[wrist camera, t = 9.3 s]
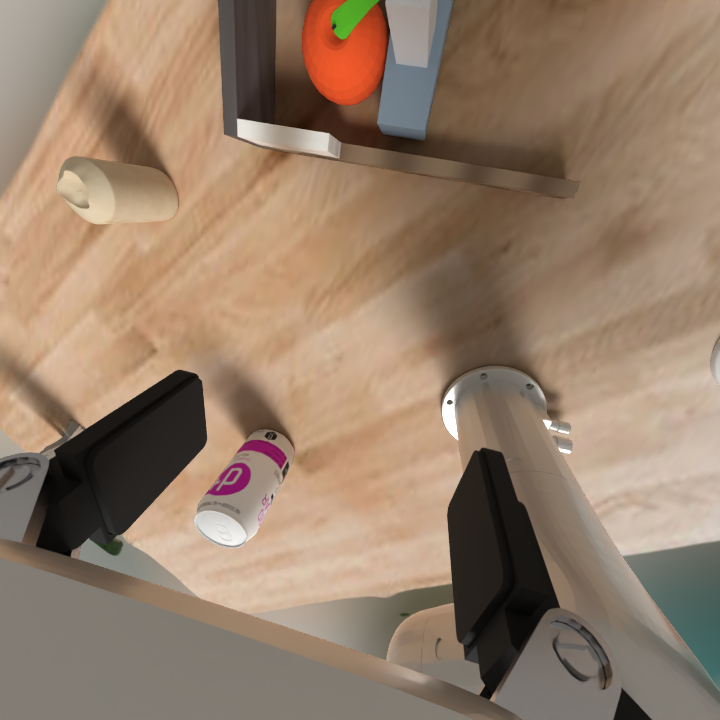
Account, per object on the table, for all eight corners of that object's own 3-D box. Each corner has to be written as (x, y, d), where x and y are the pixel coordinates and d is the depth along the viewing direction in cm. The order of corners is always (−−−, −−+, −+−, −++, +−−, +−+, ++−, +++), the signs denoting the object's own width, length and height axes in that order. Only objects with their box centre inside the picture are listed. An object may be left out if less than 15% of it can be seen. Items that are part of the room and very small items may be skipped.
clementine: (377, -23, 25) (362, -100, 19) (417, 69, 27) (416, 28, 21) (302, 55, 28) (267, 10, 22) (343, 132, 30) (323, 112, 24)
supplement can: (242, 427, 50) (178, 506, 37) (288, 425, 48) (237, 507, 35) (259, 465, 54) (205, 549, 40) (302, 464, 51) (260, 552, 38)
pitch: (659, -43, 22) (752, -141, 16) (560, 198, 29) (597, 196, 23) (263, -82, 24) (210, -179, 18) (262, 148, 32) (224, 134, 25)
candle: (141, 216, 37) (54, 219, 29) (131, 163, 35) (33, 149, 26) (182, 224, 37) (107, 229, 28) (176, 171, 34) (90, 158, 25)
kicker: (456, -13, 24) (484, -190, 13) (424, 141, 29) (426, 101, 18) (406, -18, 24) (394, -195, 14) (382, 134, 29) (360, 92, 18)
